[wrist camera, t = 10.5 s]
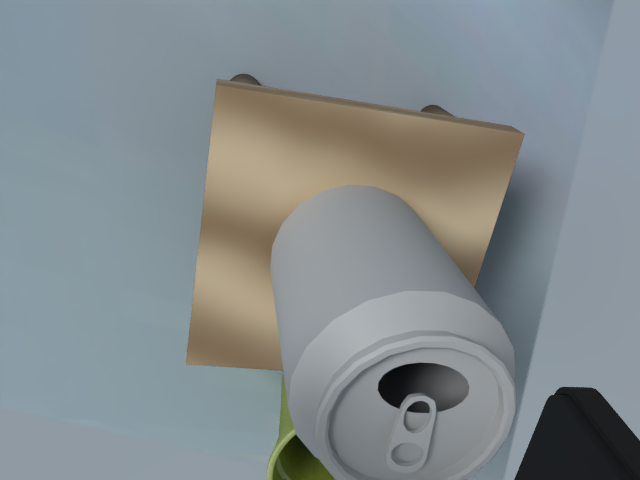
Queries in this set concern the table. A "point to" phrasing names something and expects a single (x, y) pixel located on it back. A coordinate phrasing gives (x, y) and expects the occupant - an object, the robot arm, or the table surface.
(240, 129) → the stool
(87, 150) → the table surface
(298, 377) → the can
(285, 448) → the plant pot
